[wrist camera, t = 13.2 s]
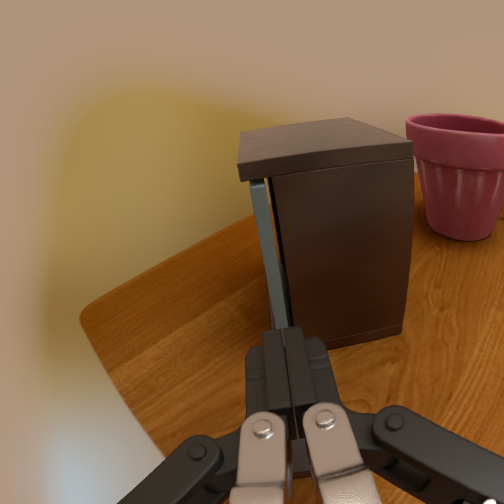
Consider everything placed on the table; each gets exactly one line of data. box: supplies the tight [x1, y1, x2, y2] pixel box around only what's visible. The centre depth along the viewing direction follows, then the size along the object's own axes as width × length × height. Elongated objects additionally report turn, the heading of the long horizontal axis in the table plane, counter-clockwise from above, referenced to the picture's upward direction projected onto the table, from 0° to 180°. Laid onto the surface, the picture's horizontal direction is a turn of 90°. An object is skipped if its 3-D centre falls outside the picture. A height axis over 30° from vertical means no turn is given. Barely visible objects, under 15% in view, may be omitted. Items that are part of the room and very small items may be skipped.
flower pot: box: [406, 113, 504, 241], centre depth 30 cm, size 14×14×13 cm
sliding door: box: [249, 178, 288, 347], centre depth 24 cm, size 1×12×11 cm, turn 1°
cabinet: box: [237, 118, 414, 478], centre depth 20 cm, size 10×22×14 cm, turn 1°
